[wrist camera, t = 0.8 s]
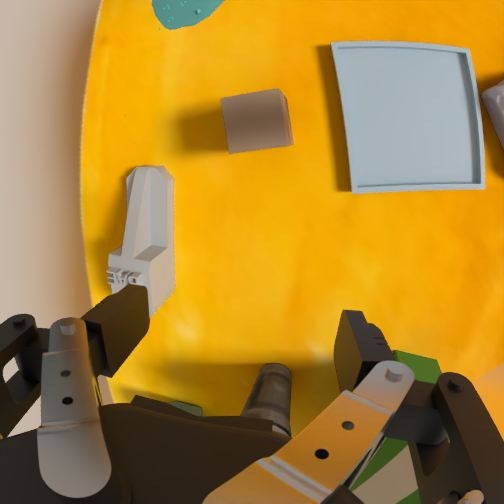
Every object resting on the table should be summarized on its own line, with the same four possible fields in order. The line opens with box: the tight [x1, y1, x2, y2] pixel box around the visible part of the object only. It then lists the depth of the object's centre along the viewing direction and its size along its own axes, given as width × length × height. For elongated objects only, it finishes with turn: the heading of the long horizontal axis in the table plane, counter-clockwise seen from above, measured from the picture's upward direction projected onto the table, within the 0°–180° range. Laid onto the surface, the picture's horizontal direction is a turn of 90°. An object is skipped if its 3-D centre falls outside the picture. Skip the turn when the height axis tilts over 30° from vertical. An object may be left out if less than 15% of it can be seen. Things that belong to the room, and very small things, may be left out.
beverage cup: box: [240, 363, 292, 438], centre depth 33 cm, size 7×7×20 cm
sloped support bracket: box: [106, 165, 175, 318], centre depth 34 cm, size 6×18×8 cm, turn 176°
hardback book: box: [349, 350, 450, 504], centre depth 29 cm, size 18×7×24 cm, turn 166°
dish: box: [330, 41, 485, 194], centre depth 26 cm, size 16×16×1 cm
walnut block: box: [221, 89, 294, 154], centre depth 27 cm, size 5×5×7 cm
